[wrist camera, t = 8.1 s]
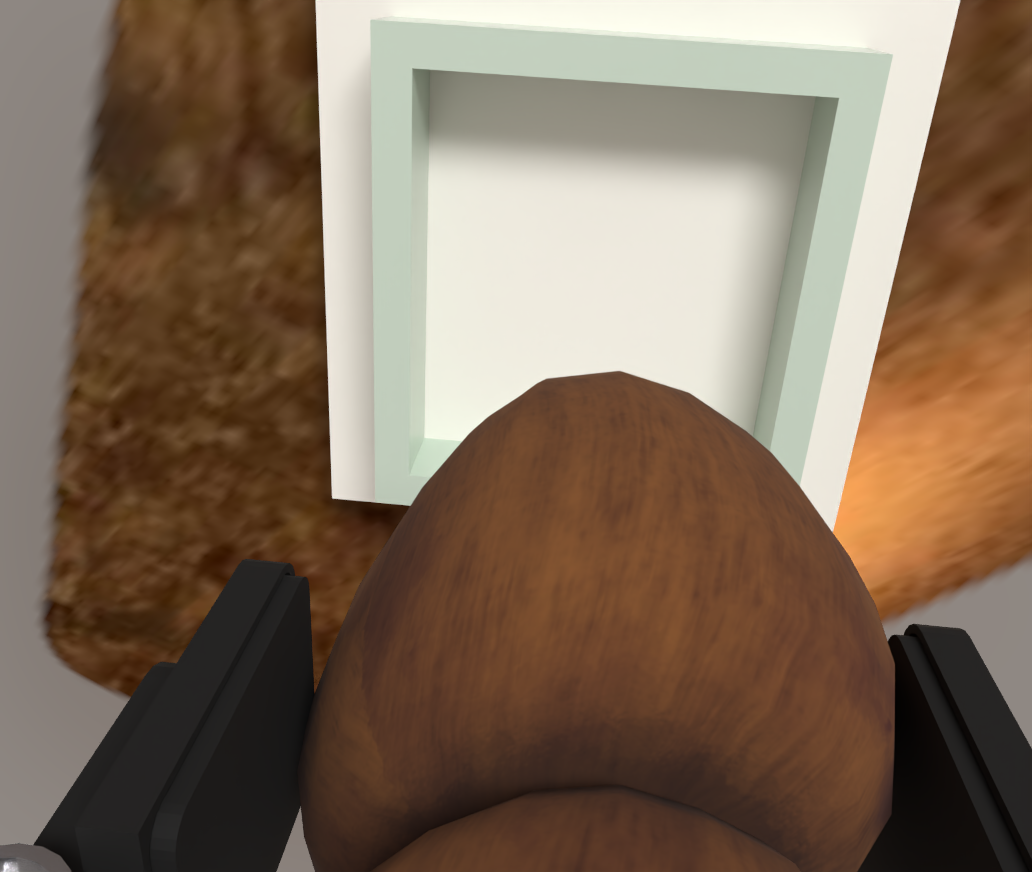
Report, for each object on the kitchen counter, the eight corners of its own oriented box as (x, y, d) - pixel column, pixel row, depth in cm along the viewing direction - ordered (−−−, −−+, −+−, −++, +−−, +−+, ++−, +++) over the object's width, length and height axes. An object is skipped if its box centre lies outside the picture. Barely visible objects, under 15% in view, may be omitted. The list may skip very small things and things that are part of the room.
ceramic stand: (944, -15, 24) (1002, -14, 21) (820, 521, 31) (847, 591, 28) (329, -53, 25) (283, -59, 21) (343, 476, 32) (310, 539, 28)
